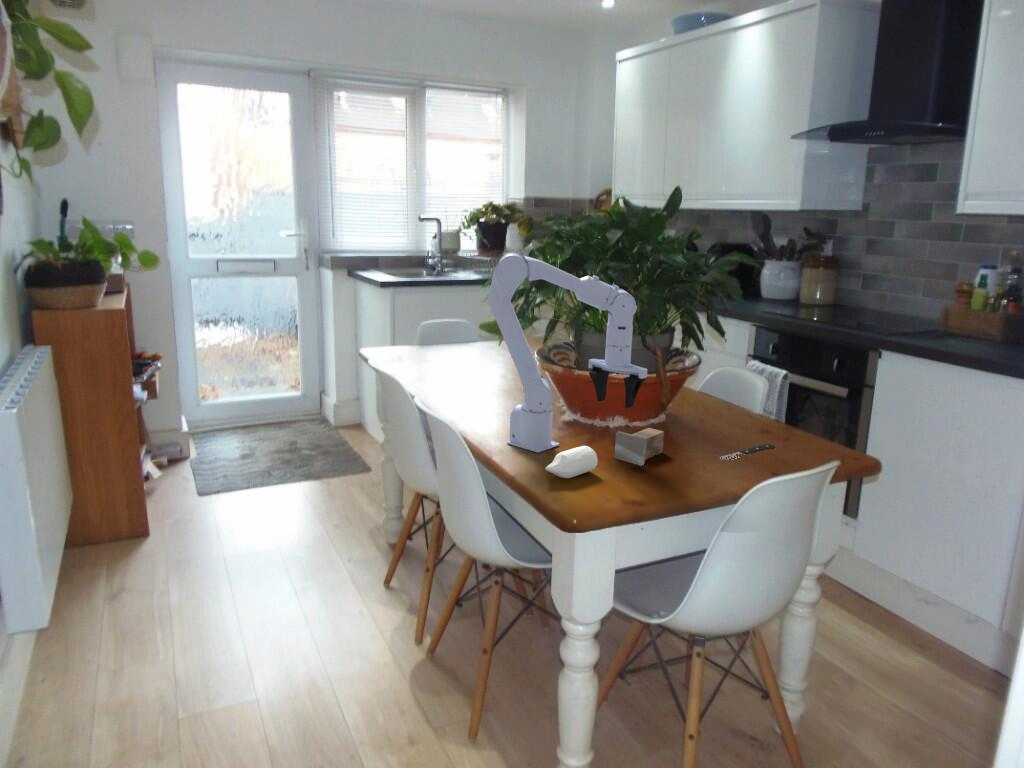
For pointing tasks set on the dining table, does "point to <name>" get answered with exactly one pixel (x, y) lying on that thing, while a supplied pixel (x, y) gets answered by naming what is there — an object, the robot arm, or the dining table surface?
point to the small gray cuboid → (638, 445)
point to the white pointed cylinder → (573, 462)
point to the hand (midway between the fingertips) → (615, 403)
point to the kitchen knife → (749, 451)
